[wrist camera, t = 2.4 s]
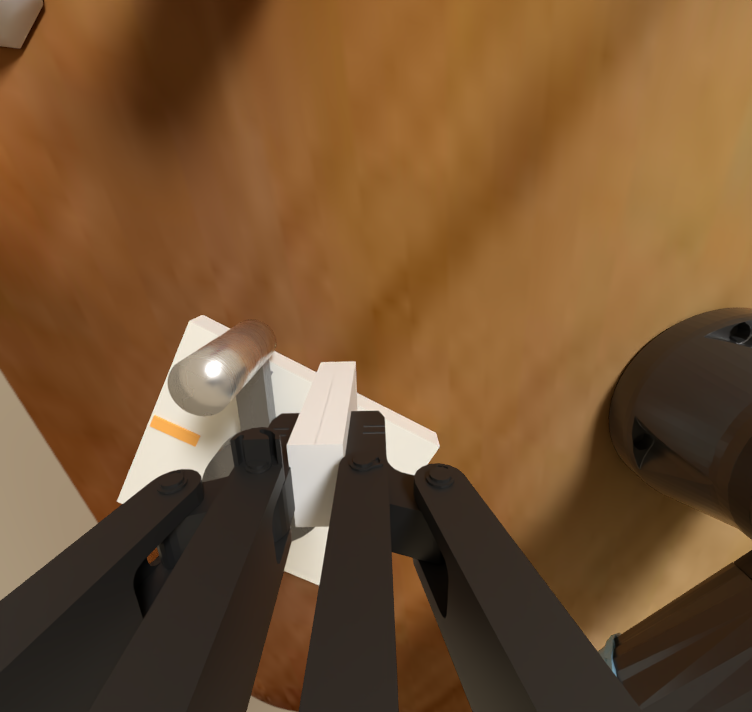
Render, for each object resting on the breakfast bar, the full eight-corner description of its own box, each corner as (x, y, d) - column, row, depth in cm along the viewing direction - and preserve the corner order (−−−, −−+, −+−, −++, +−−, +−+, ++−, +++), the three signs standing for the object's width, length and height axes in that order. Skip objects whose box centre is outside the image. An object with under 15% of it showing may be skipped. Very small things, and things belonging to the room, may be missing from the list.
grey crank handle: (333, 524, 30) (317, 624, 22) (222, 525, 30) (168, 625, 22) (319, 317, 25) (291, 356, 17) (184, 320, 25) (97, 359, 17)
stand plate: (436, 432, 30) (440, 447, 28) (340, 573, 35) (337, 594, 33) (202, 314, 27) (188, 321, 25) (132, 485, 32) (115, 502, 30)
